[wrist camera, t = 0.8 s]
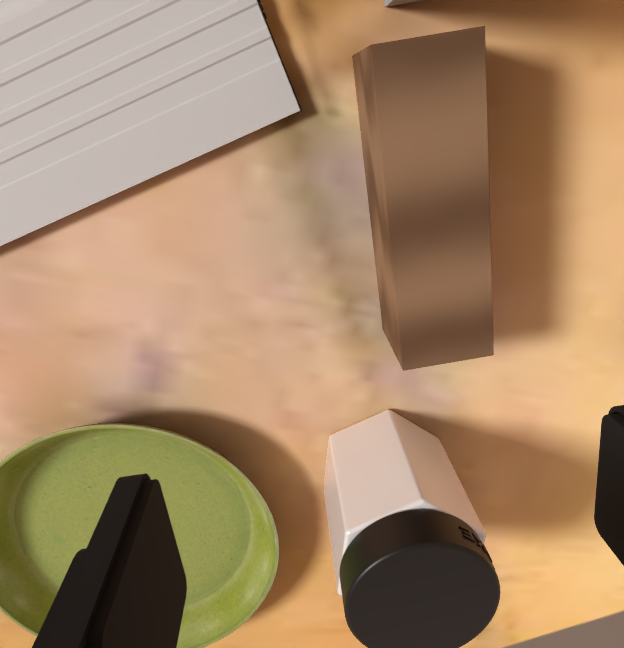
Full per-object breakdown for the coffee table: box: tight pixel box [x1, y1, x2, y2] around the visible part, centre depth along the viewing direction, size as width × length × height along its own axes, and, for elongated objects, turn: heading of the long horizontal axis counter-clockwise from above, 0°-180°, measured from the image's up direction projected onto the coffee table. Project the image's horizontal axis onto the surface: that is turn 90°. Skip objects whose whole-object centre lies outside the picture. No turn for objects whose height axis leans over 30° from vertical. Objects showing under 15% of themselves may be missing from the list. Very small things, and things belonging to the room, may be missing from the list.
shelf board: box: [352, 26, 494, 371], centre depth 29 cm, size 16×5×6 cm, turn 9°
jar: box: [324, 410, 500, 648], centre depth 33 cm, size 9×8×12 cm
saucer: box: [0, 423, 279, 648], centre depth 38 cm, size 21×21×3 cm
